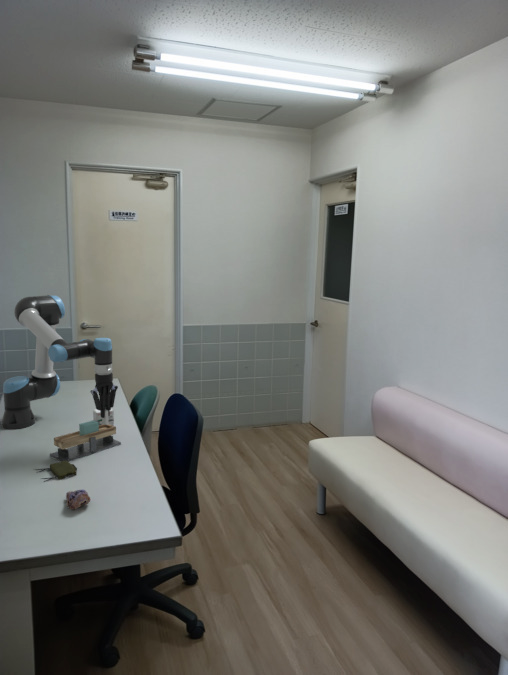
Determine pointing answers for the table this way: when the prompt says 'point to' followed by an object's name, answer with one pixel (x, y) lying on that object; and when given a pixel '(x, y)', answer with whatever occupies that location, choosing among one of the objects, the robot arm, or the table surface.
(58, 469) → the electronic device
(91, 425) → the teal rectangular block
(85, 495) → the purple brown lumpy chunk
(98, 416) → the ink box
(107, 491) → the table surface
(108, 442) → the stand
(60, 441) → the beam
